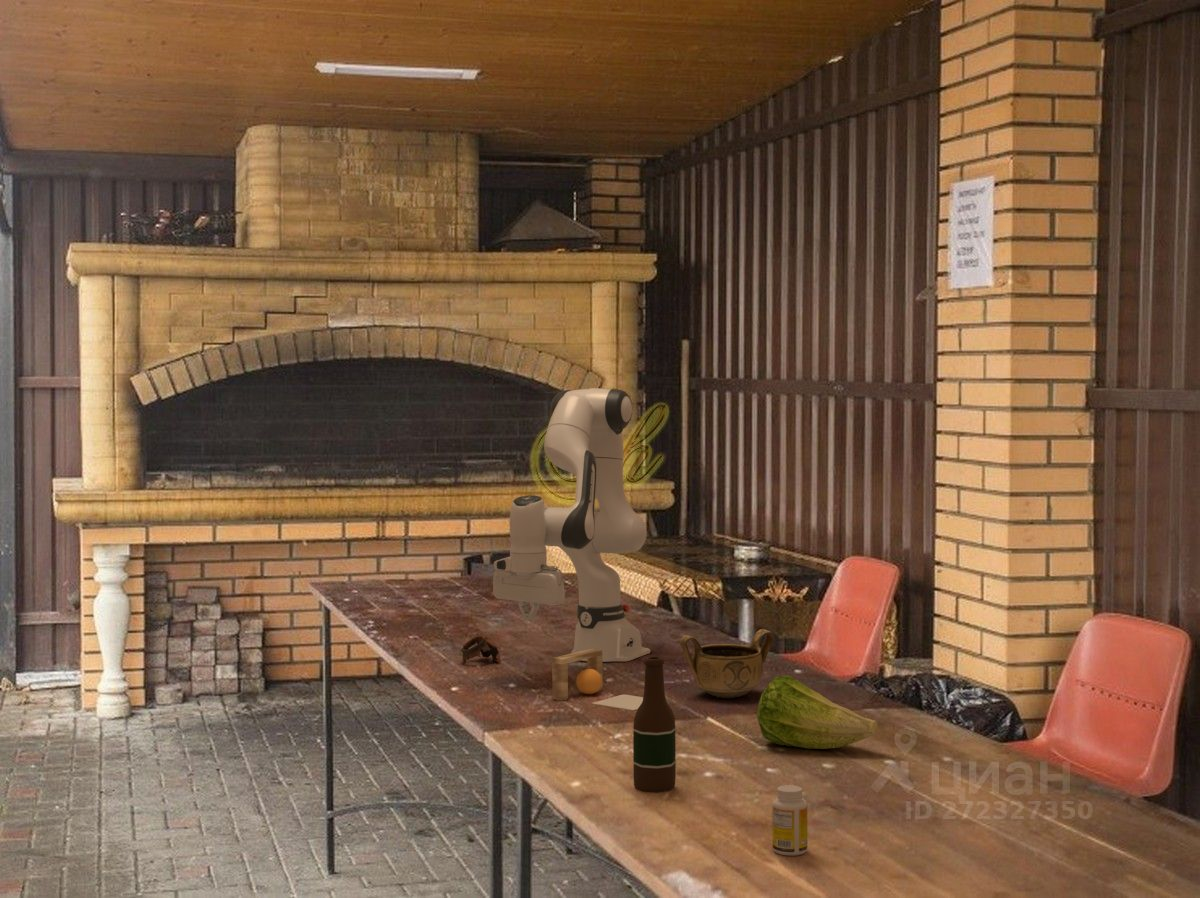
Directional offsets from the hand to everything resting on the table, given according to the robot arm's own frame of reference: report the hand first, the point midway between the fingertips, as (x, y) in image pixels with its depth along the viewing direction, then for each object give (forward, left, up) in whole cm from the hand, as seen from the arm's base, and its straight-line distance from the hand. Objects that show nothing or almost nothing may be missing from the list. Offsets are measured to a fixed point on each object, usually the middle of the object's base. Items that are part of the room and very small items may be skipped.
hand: (529, 620), depth 383 cm
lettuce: (+12, +88, -16) cm, 90 cm away
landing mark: (+1, +31, -16) cm, 35 cm away
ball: (-1, +18, -13) cm, 22 cm away
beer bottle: (+56, +79, -16) cm, 98 cm away
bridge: (+1, +16, -16) cm, 23 cm away
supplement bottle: (+74, +119, -16) cm, 141 cm away
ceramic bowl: (-19, +45, -16) cm, 51 cm away
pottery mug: (-16, -30, -16) cm, 37 cm away
